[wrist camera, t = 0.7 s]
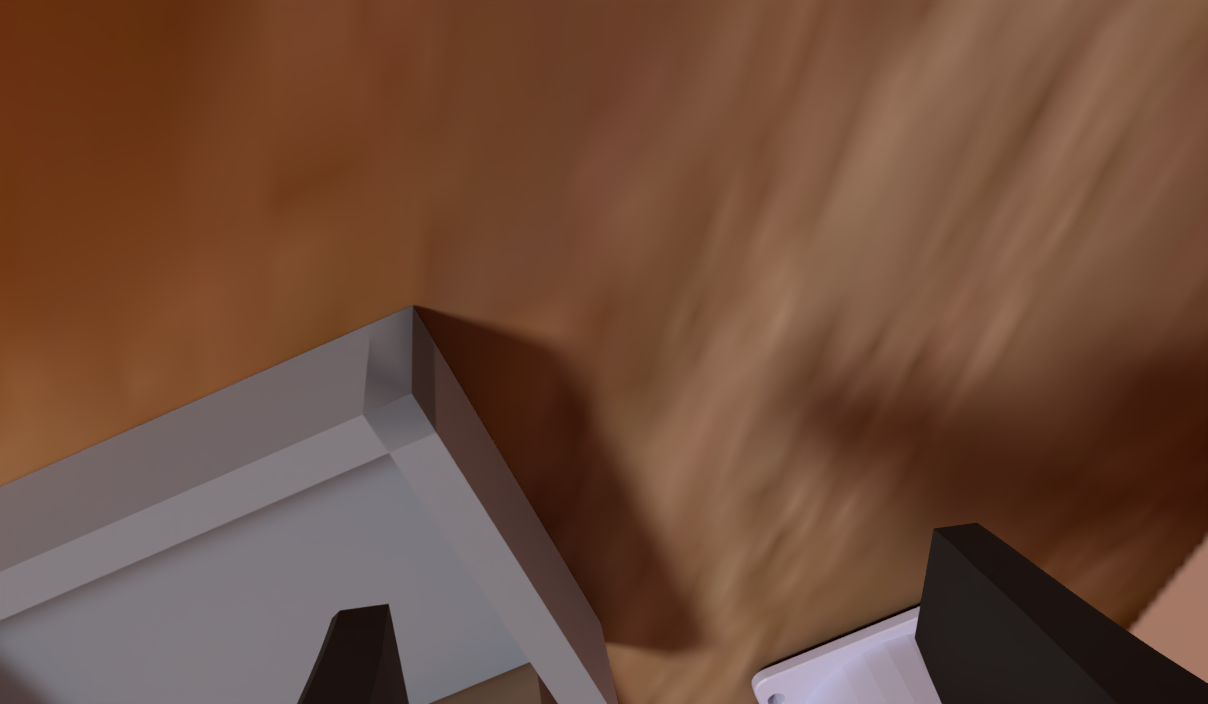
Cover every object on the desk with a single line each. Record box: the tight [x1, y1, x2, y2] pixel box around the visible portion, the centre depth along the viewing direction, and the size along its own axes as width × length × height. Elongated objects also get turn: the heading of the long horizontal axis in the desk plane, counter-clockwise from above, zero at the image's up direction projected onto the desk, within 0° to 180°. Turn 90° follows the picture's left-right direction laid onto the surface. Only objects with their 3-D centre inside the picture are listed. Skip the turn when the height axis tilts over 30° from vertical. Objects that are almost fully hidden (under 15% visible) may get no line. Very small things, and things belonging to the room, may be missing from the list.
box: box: [0, 305, 618, 704], centre depth 23 cm, size 11×16×4 cm
